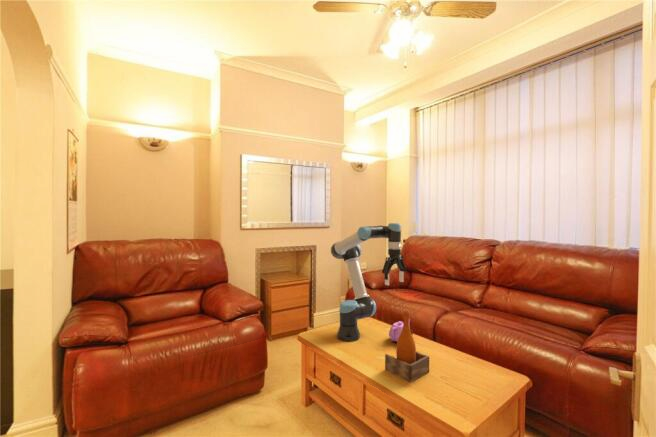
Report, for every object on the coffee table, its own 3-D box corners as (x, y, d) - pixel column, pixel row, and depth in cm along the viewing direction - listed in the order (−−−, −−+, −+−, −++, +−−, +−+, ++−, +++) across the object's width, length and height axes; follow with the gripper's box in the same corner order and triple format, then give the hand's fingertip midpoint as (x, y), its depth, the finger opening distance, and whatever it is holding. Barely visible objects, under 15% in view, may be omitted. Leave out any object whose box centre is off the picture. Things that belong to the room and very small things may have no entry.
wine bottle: (416, 373, 158) (416, 314, 157) (396, 371, 160) (396, 313, 159) (415, 364, 168) (415, 308, 167) (396, 362, 170) (396, 307, 169)
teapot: (401, 333, 214) (401, 315, 214) (419, 340, 203) (419, 320, 203) (382, 341, 201) (382, 322, 201) (400, 348, 190) (400, 328, 190)
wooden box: (385, 369, 165) (385, 354, 164) (403, 360, 175) (403, 346, 175) (410, 382, 152) (410, 366, 152) (429, 372, 162) (429, 356, 162)
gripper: (385, 250, 179) (385, 287, 180) (412, 247, 195) (411, 281, 195) (376, 249, 185) (375, 285, 185) (402, 246, 201) (402, 279, 201)
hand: (394, 283), depth 190 cm, fingers open, 13 cm apart
